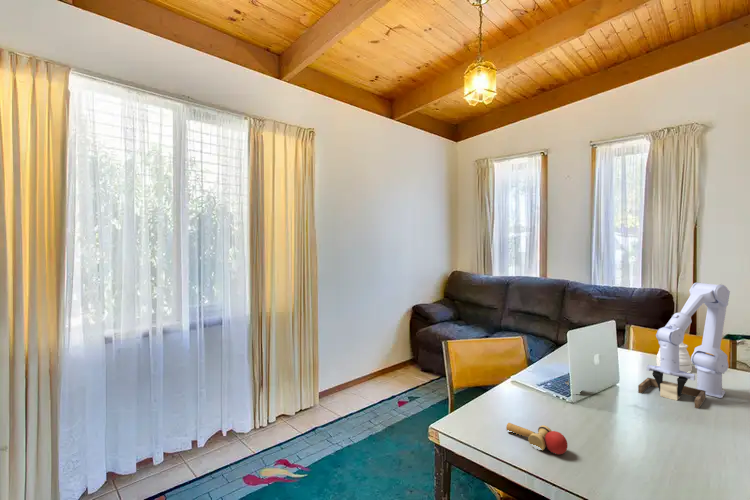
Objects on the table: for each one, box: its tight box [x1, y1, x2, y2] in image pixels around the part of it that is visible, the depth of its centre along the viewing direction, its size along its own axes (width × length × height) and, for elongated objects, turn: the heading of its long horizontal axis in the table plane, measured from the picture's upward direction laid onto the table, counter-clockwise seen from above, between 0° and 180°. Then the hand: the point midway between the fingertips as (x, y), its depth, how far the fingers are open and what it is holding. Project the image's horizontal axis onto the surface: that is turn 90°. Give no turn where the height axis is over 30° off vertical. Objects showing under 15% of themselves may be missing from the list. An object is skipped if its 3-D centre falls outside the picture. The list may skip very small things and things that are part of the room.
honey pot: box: [656, 341, 693, 372], centre depth 166 cm, size 13×13×18 cm
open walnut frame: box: [637, 377, 707, 409], centre depth 137 cm, size 13×18×3 cm
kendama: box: [505, 422, 568, 455], centre depth 106 cm, size 8×6×18 cm
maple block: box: [659, 380, 681, 401], centre depth 136 cm, size 5×5×5 cm
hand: (670, 393), depth 136 cm, fingers closed on maple block, 5 cm apart
